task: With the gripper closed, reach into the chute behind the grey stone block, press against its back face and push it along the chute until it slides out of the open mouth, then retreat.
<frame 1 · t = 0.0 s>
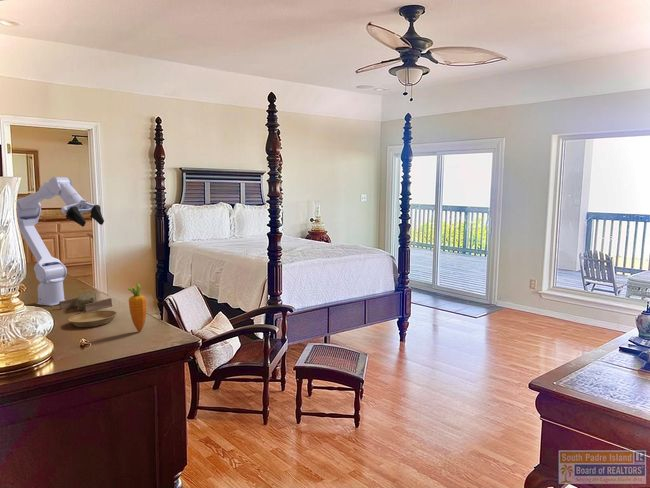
hand: (93, 223, 175), 32 cm above the table, tool tilted 50°, fingers open, 7 cm apart
plant saucer: (93, 323, 160), on the table
stone block: (87, 308, 182), on the table
carrot: (139, 332, 147), on the table
chute: (86, 307, 182), on the table
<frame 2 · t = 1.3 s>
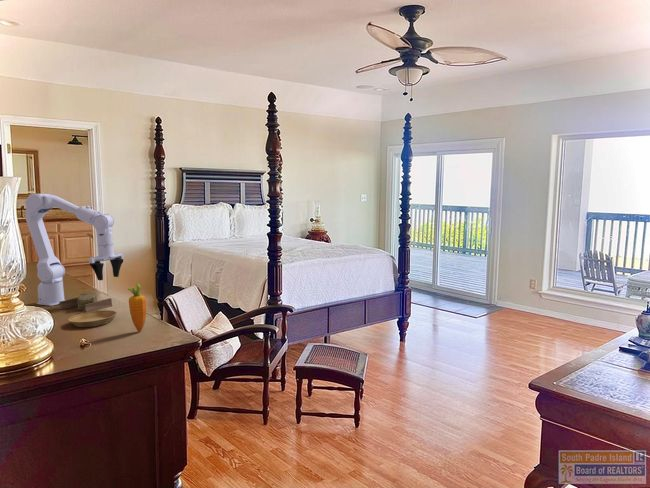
hand: (108, 278, 190), 9 cm above the table, tool pointing down, fingers open, 7 cm apart
nothing on the table moved.
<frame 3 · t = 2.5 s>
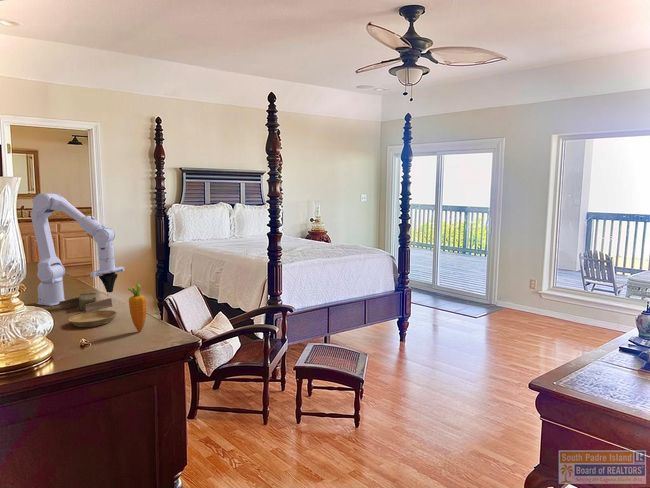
hand: (109, 291, 191), 4 cm above the table, tool pointing down, fingers closed
nothing on the table moved.
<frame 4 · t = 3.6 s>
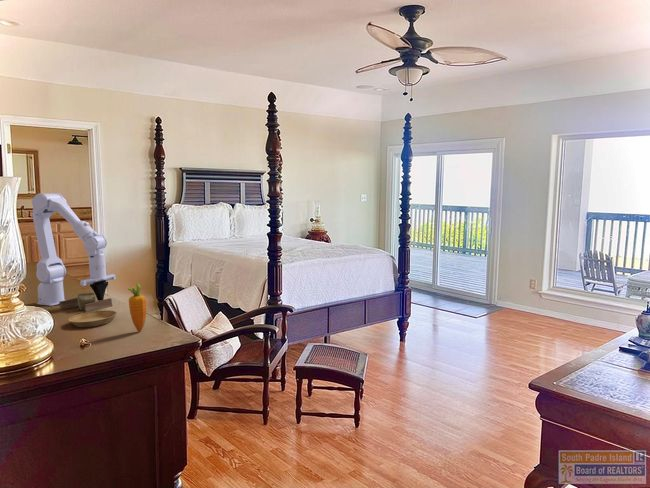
hand: (100, 300, 187), 1 cm above the table, tool pointing down, fingers closed
stone block: (87, 308, 182), on the table, touching gripper
everything else where it was.
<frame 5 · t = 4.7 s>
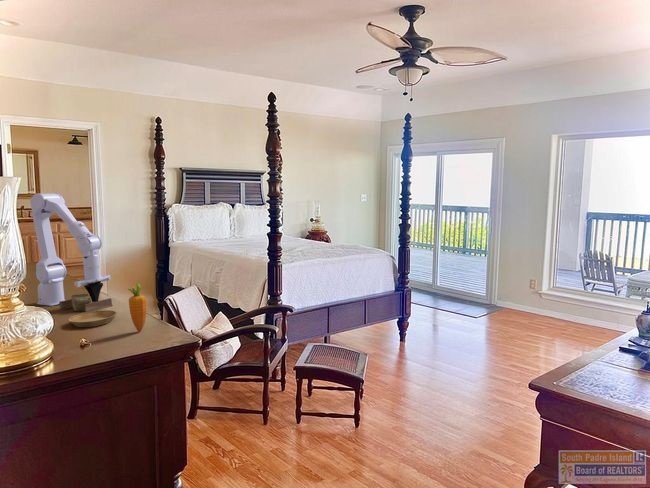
hand: (95, 301, 185), 1 cm above the table, tool pointing down, fingers closed
stone block: (81, 309, 181), on the table, touching gripper
everything else where it was.
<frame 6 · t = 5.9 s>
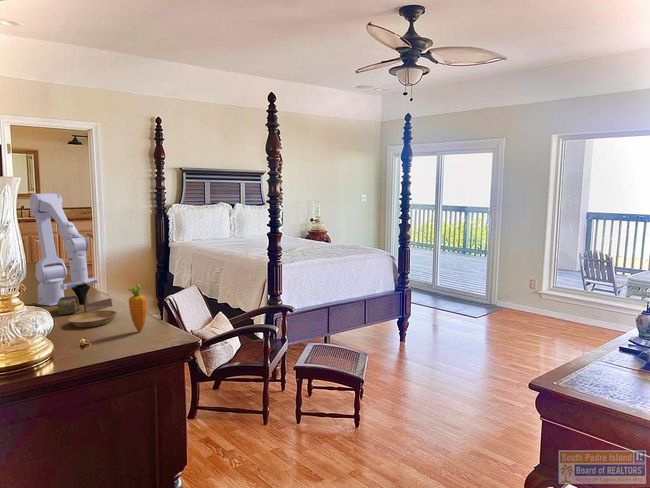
hand: (82, 304, 180), 2 cm above the table, tool pointing down, fingers closed
stone block: (69, 311, 176), on the table, touching chute, gripper
everything else where it was.
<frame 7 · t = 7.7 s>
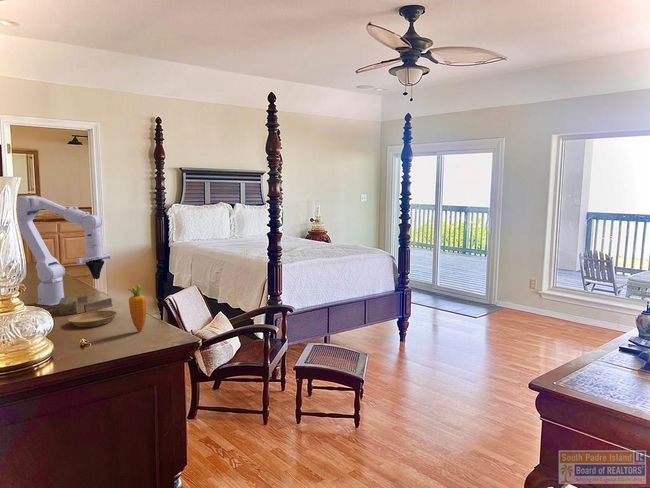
hand: (96, 278, 191), 9 cm above the table, tool pointing down, fingers closed
stone block: (69, 312, 177), on the table
everything else where it was.
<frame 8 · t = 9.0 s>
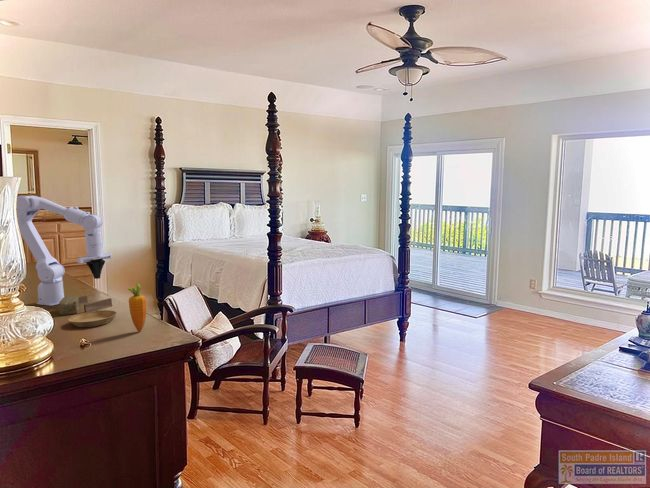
hand: (97, 278, 191), 9 cm above the table, tool pointing down, fingers closed
nothing on the table moved.
at the end: stone block inside the target area (2.0 cm from its centre), on the table; stone block moved 6.8 cm from its start; stone block tilted 1° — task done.
